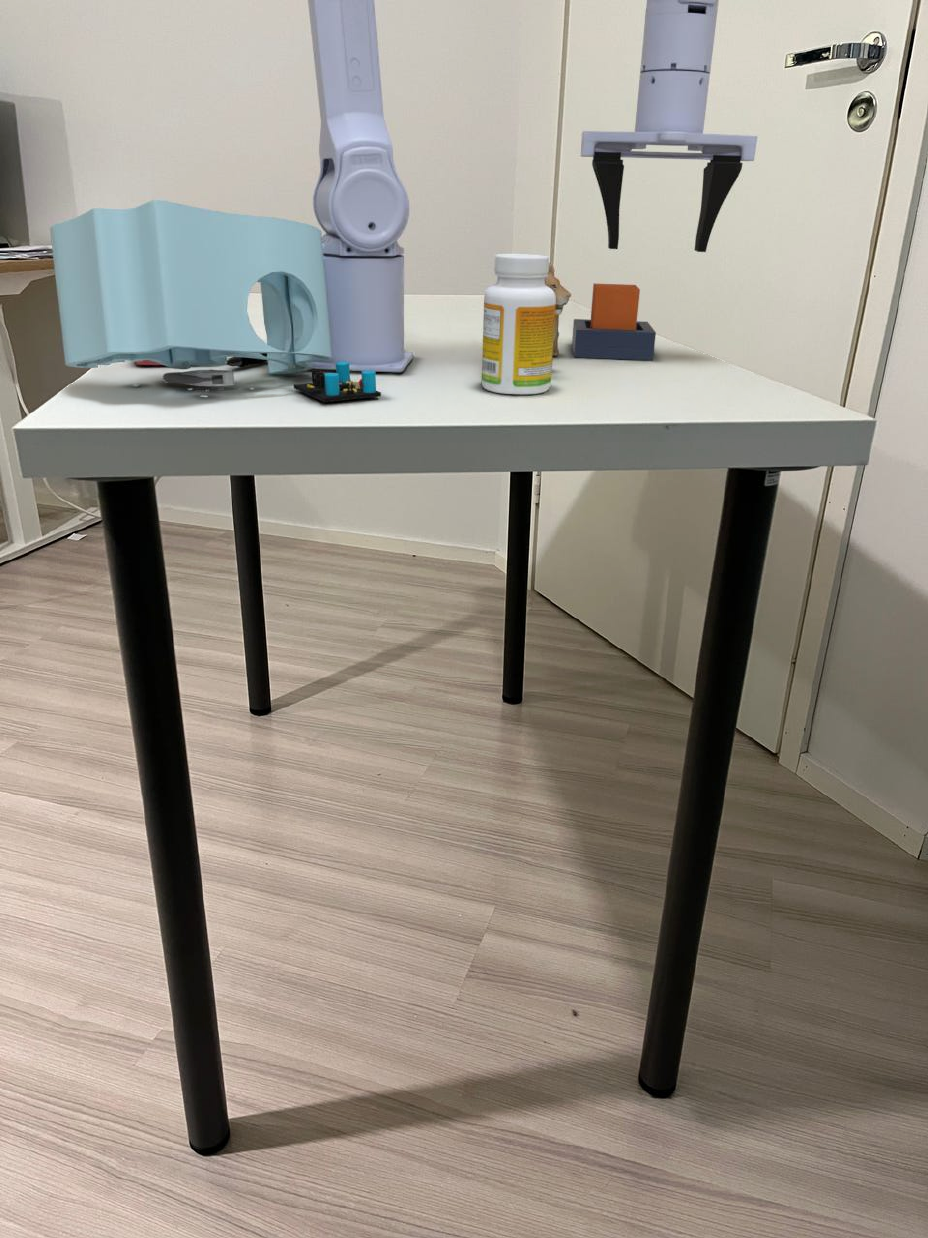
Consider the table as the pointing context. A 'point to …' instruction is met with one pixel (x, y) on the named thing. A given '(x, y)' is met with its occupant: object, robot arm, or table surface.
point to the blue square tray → (613, 342)
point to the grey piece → (201, 377)
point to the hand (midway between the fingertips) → (656, 249)
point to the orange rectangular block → (614, 306)
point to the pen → (245, 361)
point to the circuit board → (340, 385)
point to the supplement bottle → (518, 326)
